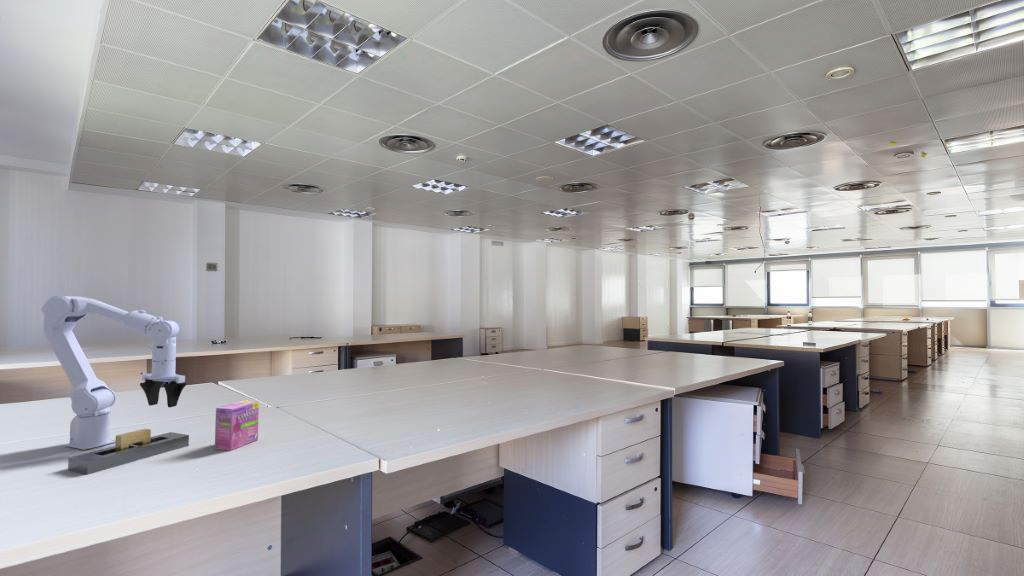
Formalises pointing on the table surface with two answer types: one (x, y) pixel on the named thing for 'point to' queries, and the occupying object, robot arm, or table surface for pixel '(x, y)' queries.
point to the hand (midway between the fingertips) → (162, 405)
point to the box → (236, 425)
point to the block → (126, 453)
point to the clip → (132, 439)
